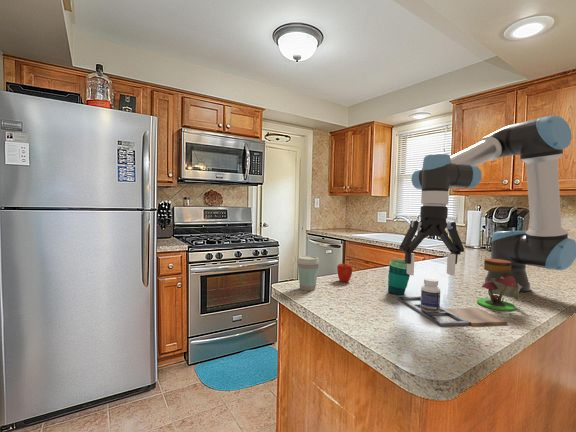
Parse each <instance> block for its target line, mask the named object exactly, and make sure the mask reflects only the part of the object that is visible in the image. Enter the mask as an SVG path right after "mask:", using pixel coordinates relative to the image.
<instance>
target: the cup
mask: <svg viewBox="0 0 576 432" xmlns="http://www.w3.org/2000/svg"><path fill="white" fill-rule="evenodd" d="M388 265H389V267H388V268H389V270H388V278H387V279H388V280H387V285H388V286H387V291H388V293H389V294H392V295H395V296H403V295H405V292H406V289H407V288H408V284H409V281H410V276H411V275H409V274H407V263H405V259H398V258H397V259H392V260H391V261H389V262H388Z"/></svg>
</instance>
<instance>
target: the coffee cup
mask: <svg viewBox="0 0 576 432" xmlns="http://www.w3.org/2000/svg"><path fill="white" fill-rule="evenodd" d="M296 263H297V269H298V270H297V271H298V279H299V280H298V282H299V289H300V290H301V291H306V292H312V291H315V290H316V285H317V279H318V271H319V264H320V260H319V257H318V256H314V255H302V256H301V255H300V256H298V259H297V260H296Z"/></svg>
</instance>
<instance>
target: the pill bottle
mask: <svg viewBox="0 0 576 432" xmlns="http://www.w3.org/2000/svg"><path fill="white" fill-rule="evenodd" d="M438 286H439V280H438V279H436V278H428V277H425V278H424V279H423V285H422V286H421V288H420V296H421V300H420V304H421V305H420V307H419V308H420V309H422V310H424V311H425V312H440V306H441V288H440V287H438Z"/></svg>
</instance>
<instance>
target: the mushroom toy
mask: <svg viewBox="0 0 576 432" xmlns="http://www.w3.org/2000/svg"><path fill="white" fill-rule="evenodd" d="M483 265H484V267H483V270H484V271H487V272H488V271H491V272H496V273H511V262H510V261H507V260H501V259H491V258H485V259H484V262H483ZM481 288H483V289H486V290H487V293H488V296H489V297H490V298H486V297H485V298H483V297H482V298H478V299H476V303H477V304H478V305H480V306H482V307H485V308H488V309H493V310H498V311H507V312H508V311H509V312H510V311H515V310H516V305H515V304H513V303H510V302H507V301H505V300H504V299H505V298H504V297H509V298H513V299H515V300H517V301H519V294H520V293H519V290H520V288H522V286H520V285H519V284H518V283H516V282H515V279H514V278H513V277H512V276H510V275H504V276H501V277H499V278H498V279H497V278H491V281H487V282H485V281H484V283H483V284H482V285H481ZM503 296H504V297H503Z"/></svg>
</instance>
